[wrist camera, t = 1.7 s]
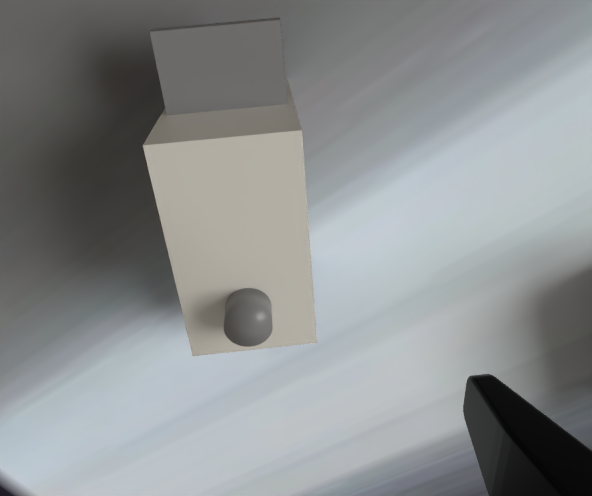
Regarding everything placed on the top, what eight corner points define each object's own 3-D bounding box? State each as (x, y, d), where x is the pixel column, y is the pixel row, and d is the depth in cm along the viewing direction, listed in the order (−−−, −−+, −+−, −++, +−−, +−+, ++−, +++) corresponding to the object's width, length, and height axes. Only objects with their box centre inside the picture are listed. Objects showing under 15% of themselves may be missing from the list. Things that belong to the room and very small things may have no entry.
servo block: (282, 8, 17) (298, 38, 11) (305, 293, 23) (324, 416, 16) (161, 19, 17) (108, 55, 11) (216, 302, 22) (202, 430, 16)
